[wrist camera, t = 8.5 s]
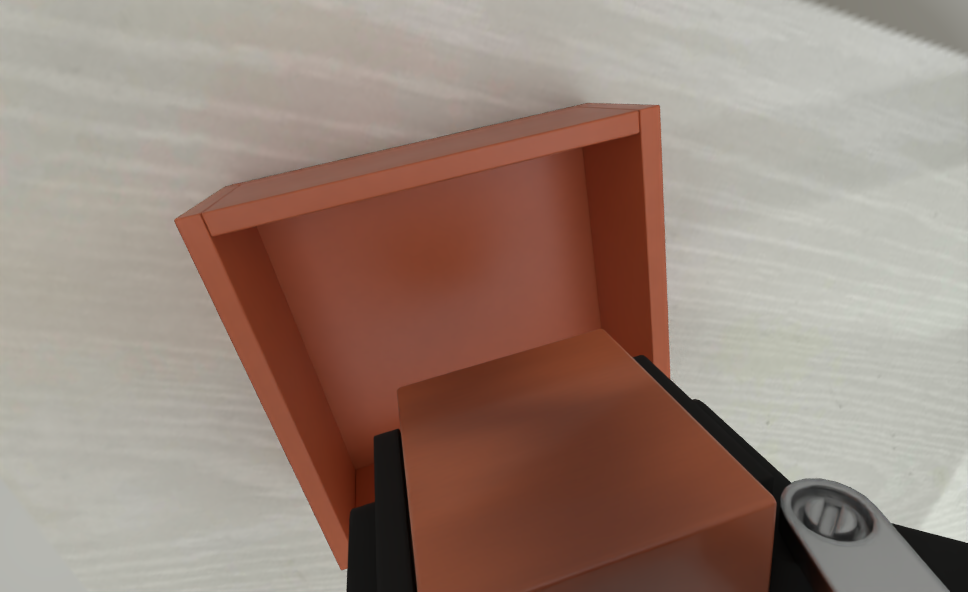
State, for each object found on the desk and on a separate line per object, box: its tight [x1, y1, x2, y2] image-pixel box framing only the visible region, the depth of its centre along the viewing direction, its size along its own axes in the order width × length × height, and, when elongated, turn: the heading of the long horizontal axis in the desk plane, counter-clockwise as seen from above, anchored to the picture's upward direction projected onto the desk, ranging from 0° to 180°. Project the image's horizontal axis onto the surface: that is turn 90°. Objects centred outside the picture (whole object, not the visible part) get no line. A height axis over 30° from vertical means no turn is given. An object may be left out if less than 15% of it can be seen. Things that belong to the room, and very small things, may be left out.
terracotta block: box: [397, 329, 777, 592], centre depth 9 cm, size 5×5×5 cm
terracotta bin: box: [174, 103, 670, 570], centre depth 16 cm, size 12×12×4 cm
